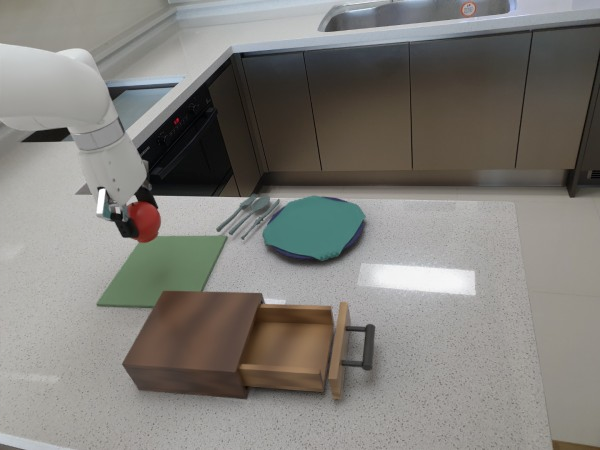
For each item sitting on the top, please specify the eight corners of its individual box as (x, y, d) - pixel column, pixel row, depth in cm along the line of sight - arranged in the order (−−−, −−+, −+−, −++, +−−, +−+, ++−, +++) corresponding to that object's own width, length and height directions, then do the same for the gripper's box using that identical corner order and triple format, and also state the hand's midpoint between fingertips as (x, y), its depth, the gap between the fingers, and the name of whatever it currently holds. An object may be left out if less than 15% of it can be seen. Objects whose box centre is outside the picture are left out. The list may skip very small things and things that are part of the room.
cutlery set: (336, 277, 82) (335, 267, 81) (209, 239, 97) (206, 230, 95) (380, 214, 95) (379, 205, 94) (261, 188, 109) (260, 180, 108)
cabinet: (270, 320, 77) (262, 292, 73) (246, 399, 66) (235, 372, 62) (175, 316, 81) (163, 290, 77) (138, 390, 70) (121, 364, 66)
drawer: (377, 323, 72) (375, 302, 69) (372, 402, 61) (369, 381, 59) (252, 318, 77) (245, 298, 74) (228, 390, 67) (219, 370, 64)
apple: (156, 248, 81) (140, 214, 76) (121, 248, 82) (104, 215, 78) (172, 223, 86) (158, 190, 81) (139, 224, 88) (123, 191, 83)
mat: (193, 309, 82) (192, 307, 82) (97, 306, 87) (95, 303, 87) (227, 237, 97) (227, 235, 97) (144, 238, 102) (143, 236, 102)
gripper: (106, 110, 79) (144, 195, 90) (45, 163, 66) (98, 255, 77) (144, 107, 77) (179, 194, 88) (89, 161, 64) (138, 255, 75)
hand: (141, 222), depth 82 cm, fingers closed on apple, 7 cm apart
